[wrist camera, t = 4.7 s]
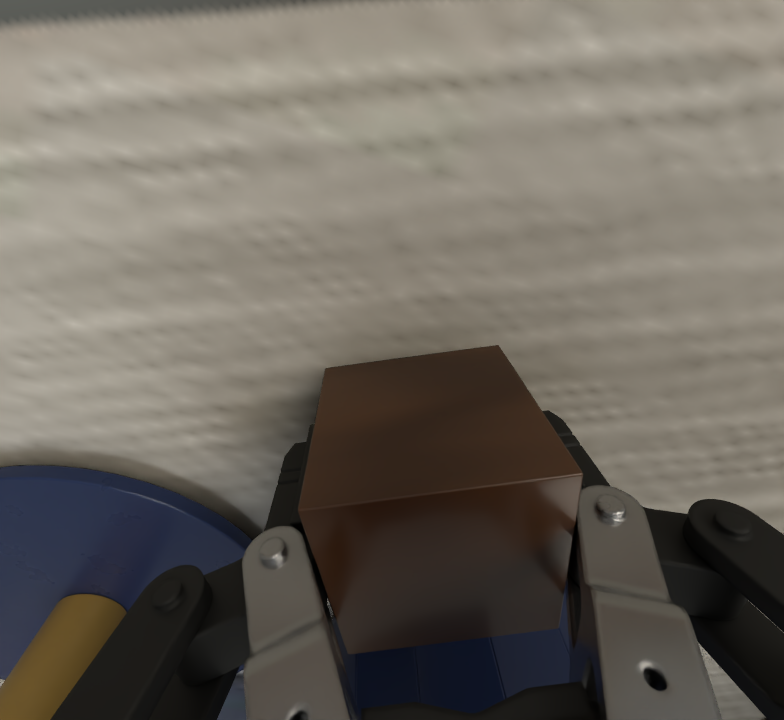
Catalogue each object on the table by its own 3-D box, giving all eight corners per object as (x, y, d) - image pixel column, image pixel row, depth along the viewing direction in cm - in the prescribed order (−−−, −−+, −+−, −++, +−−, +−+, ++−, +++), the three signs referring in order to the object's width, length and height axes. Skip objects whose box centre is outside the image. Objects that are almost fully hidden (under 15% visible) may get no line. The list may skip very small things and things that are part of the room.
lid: (39, 375, 12) (-202, 543, 7) (352, 586, 18) (348, 759, 13) (-172, 578, 15) (-432, 786, 10) (148, 696, 21) (83, 864, 16)
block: (499, 344, 11) (585, 473, 7) (497, 472, 13) (559, 629, 9) (324, 367, 11) (296, 510, 7) (354, 490, 13) (347, 656, 9)
